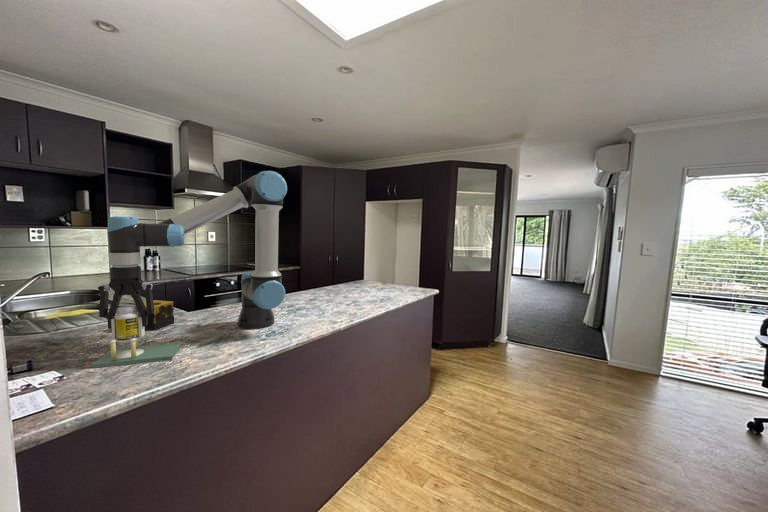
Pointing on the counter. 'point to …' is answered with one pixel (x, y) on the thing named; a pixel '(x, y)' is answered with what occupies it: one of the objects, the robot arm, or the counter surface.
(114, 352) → the header board
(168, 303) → the yellow-topped dark cube
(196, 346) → the counter surface
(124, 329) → the pill bottle
